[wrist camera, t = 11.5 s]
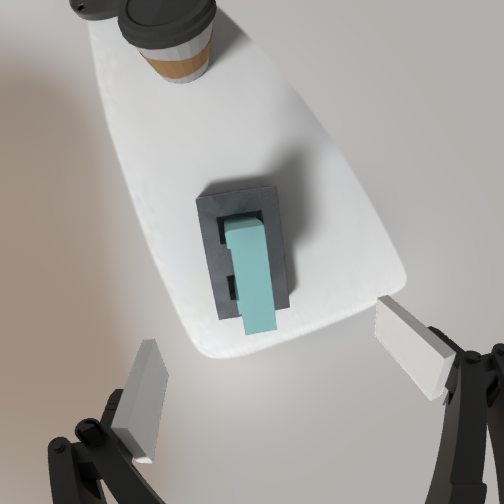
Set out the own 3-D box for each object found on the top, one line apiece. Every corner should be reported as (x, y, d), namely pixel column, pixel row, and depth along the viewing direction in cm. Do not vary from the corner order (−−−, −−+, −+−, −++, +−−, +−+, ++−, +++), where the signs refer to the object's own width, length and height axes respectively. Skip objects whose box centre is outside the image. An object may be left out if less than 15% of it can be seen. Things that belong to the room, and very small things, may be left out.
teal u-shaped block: (223, 214, 33) (223, 231, 23) (252, 209, 34) (267, 224, 23) (236, 290, 36) (242, 335, 26) (263, 285, 36) (280, 328, 26)
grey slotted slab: (197, 197, 33) (195, 199, 30) (272, 185, 33) (275, 186, 31) (219, 310, 37) (219, 319, 34) (285, 299, 37) (289, 307, 35)
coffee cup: (225, 42, 28) (229, -28, 13) (206, 97, 29) (196, 43, 15) (163, 34, 26) (136, -32, 12) (142, 88, 28) (96, 38, 14)
